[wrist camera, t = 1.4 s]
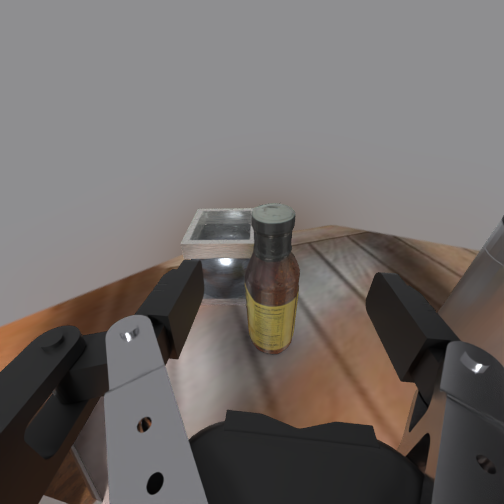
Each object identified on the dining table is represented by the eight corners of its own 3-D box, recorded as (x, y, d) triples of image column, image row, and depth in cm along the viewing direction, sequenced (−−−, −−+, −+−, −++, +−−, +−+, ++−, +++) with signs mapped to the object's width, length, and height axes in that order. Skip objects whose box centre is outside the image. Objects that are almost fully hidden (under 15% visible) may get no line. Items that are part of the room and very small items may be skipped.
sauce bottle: (264, 312, 36) (265, 191, 24) (300, 331, 33) (321, 204, 21) (238, 343, 32) (226, 214, 20) (277, 368, 28) (289, 233, 17)
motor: (266, 260, 47) (266, 207, 40) (268, 305, 37) (270, 244, 30) (199, 261, 47) (189, 208, 40) (184, 305, 37) (167, 245, 31)
